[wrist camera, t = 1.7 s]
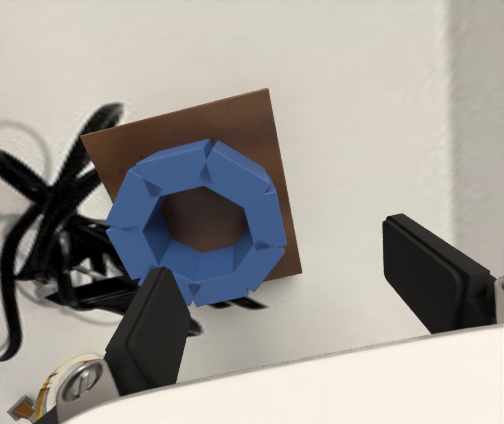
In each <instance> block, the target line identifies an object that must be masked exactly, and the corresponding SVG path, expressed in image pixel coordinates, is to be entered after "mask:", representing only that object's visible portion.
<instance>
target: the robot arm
mask: <svg viewBox="0 0 504 424" xmlns="http://www.w3.org/2000/svg"><path fill="white" fill-rule="evenodd" d="M382 227H383V263H384V276H385V278H386V280H387V281H388V282H389V284H390V285H391V286H392V287H393V288H394V290H395V291H396V292H397V293H398V294H399V296H400V297H401V298H402V299H403V300H404V302H405V303H406V304H407V305H408V306H409V308H410V309H411V310H412V311H413V312H414V314H415V315H416V316H417V317H418V318H419V320H420V321H421V322H422V323H423V324H424V326H425V327H426V328H427V329H428V330H429V332H430V333H431V335H425V336H419V337H414V338H408V339H403V340H398V341H392V342H387V343H382V344H376V345H371V346H366V347H360V348H355V349H350V350H344V351H339V352H334V353H329V354H324V355H318V356H313V357H308V358H303V359H298V360H292V361H287V362H282V363H277V364H272V365H267V366H262V367H256V368H251V369H246V370H241V371H236V372H231V373H226V374H221V375H216V376H211V377H206V378H201V379H196V380H191V381H187V382H182V383H177V384H176V381H177V376H178V372H179V368H180V364H181V360H182V356H183V351H184V347H185V343H186V339H187V335H188V331H189V326H190V322H191V315H190V312H189V310H188V307H187V305H186V303H185V300H184V298H183V296H182V294H181V291H180V289H179V287H178V284H177V282H176V280H175V278H174V275H173V273H172V271H171V269H169V268H168V269H167V268H166V267H165V266H162V267H157V268H153V269H151V270H150V271H149V273H148V275H147V276H146V278H145V280H144V282H143V283H142V285H141V287H140V289H139V291H138V292H137V294H136V296H135V298H134V299H133V301H132V303H131V305H130V307H129V308H128V310H127V312H126V314H125V315H124V317H123V319H122V321H121V322H120V324H119V326H118V328H117V330H116V331H115V333H114V335H113V337H112V338H111V340H110V342H109V344H108V345H107V347H106V349H105V351H106V354H105V356H104V358H103V359H93V360H91V361H88V362H86V363H84V364H83V365H81V366H79V367H78V368H77V369H76V370H74V371H73V372H72V373H71V374H70V375H69V376H68V377H67V378H66V379H65V380H64V382H63V383H62V385H61V386H60V388H59V390H58V392H57V395H56V406H54V407H53V408H52V409H51V410H49V411H48V412H47V413H46V414H44V415H43V416H42V417H41V418H39V419H38V420H37V421H36V422H34V423H33V424H504V276H503V277H499V278H498V279H496V278H495V277H493V276H492V275H490V271H489V270H488V269H486V268H485V267H483V266H482V265H480V264H479V263H477V262H476V261H474V260H473V259H471V258H469V257H468V256H466V255H465V254H463V253H462V252H460V251H459V250H457V249H456V248H454V247H453V246H451V245H450V244H448V243H447V242H445V241H444V240H442V239H441V238H439V237H438V236H436V235H435V234H433V233H432V232H430V231H429V230H427V229H426V228H424V227H423V226H421V225H420V224H418V223H417V222H415V221H414V220H412V219H411V218H409V217H407V216H406V215H404V214H397V215H392V216H388V217H387V218H386V220H385V221H383V224H382Z"/></svg>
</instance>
